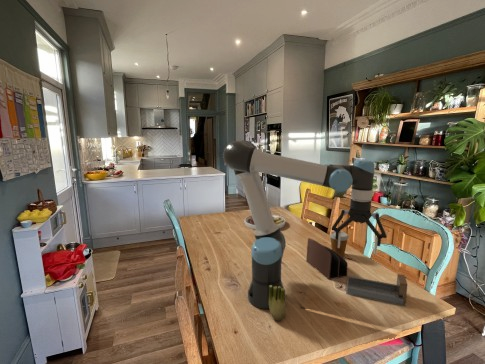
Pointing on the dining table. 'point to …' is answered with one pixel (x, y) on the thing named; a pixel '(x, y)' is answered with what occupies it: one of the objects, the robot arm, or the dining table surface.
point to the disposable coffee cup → (342, 243)
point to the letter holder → (326, 260)
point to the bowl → (276, 218)
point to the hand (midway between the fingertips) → (356, 250)
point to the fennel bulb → (277, 302)
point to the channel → (379, 289)
